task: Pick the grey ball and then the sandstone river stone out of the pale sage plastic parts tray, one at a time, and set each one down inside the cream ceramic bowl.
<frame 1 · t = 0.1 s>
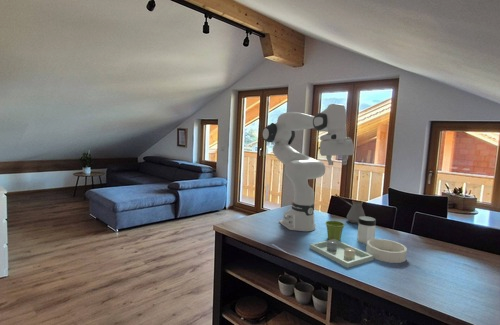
hand: (337, 164, 143), 39 cm above the counter, tool pointing down, fingers open, 8 cm apart
bowl: (385, 256, 131), on the counter
coffee pot: (348, 220, 184), on the counter
jar: (365, 241, 148), on the counter
plant pot: (333, 240, 149), on the counter
stone sand: (349, 258, 126), point 1 cm above the counter, touching parts tray
grey ball: (331, 249, 134), point 1 cm above the counter, touching parts tray
parts tray: (340, 255, 130), on the counter
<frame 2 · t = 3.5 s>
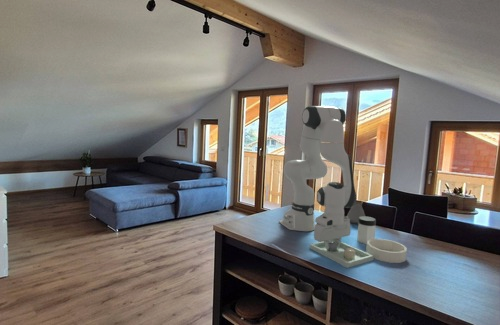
hand: (332, 247, 134), 2 cm above the counter, tool pointing down, fingers closed on grey ball, 4 cm apart
grey ball: (331, 249, 134), point 1 cm above the counter, touching gripper, parts tray
everything else where it was.
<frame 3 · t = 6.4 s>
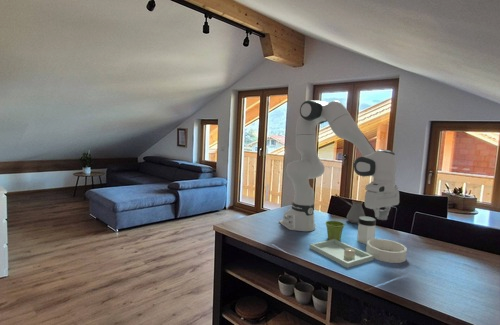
hand: (381, 216, 131), 17 cm above the counter, tool pointing down, fingers closed on grey ball, 4 cm apart
grey ball: (381, 218, 132), point 16 cm above the counter, touching gripper
everything else where it was.
when the fingers open (4 cm above the counter, at t = 9.3 s): grey ball drops 2 cm, resting on bowl.
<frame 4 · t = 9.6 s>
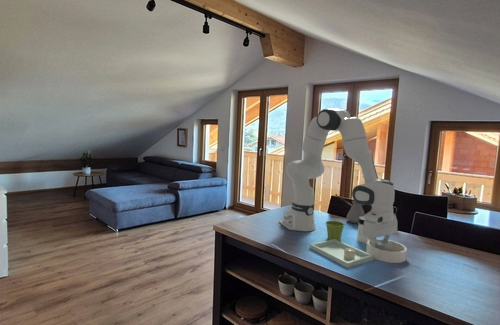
hand: (379, 244, 133), 4 cm above the counter, tool pointing down, fingers open, 7 cm apart
grey ball: (379, 251, 133), point 1 cm above the counter, touching bowl
everything else where it was.
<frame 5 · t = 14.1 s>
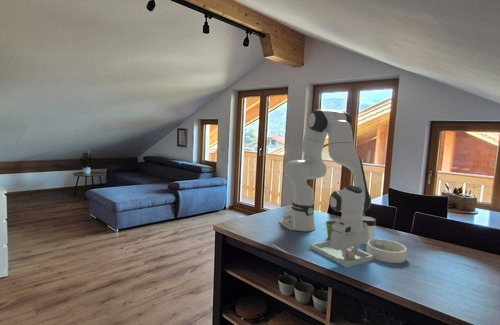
hand: (349, 255, 126), 2 cm above the counter, tool pointing down, fingers closed on stone sand, 4 cm apart
stone sand: (349, 258, 126), point 1 cm above the counter, touching gripper, parts tray
everything else where it was.
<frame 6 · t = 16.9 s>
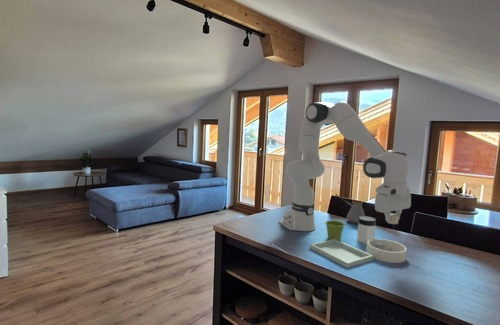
hand: (392, 220, 126), 18 cm above the counter, tool pointing down, fingers closed on stone sand, 4 cm apart
stone sand: (392, 222, 126), point 16 cm above the counter, touching gripper
everything else where it was.
when the fingers open (4 cm above the counter, at t = 20.0 s): stone sand drops 2 cm, resting on bowl.
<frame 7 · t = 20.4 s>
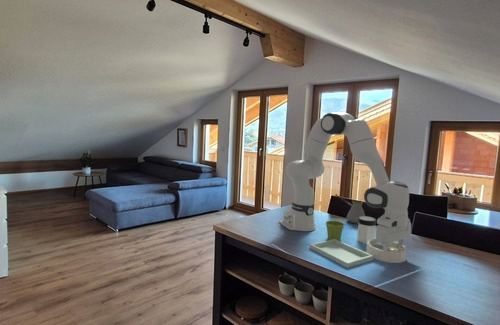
hand: (393, 249, 127), 4 cm above the counter, tool pointing down, fingers open, 8 cm apart
stone sand: (392, 257, 128), point 1 cm above the counter, touching bowl
everything else where it was.
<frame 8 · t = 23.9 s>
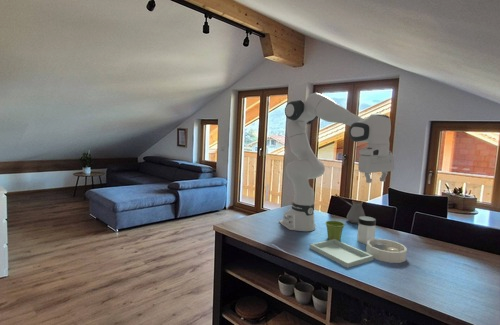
hand: (375, 181, 129), 33 cm above the counter, tool pointing down, fingers open, 8 cm apart
nothing on the counter moved.
at the end: grey ball inside the target area on the bowl (3.3 cm from its centre), point 0.8 cm above the bowl's base; stone sand inside the target area on the bowl (3.3 cm from its centre), point 0.8 cm above the bowl's base; the gripper is holding nothing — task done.
